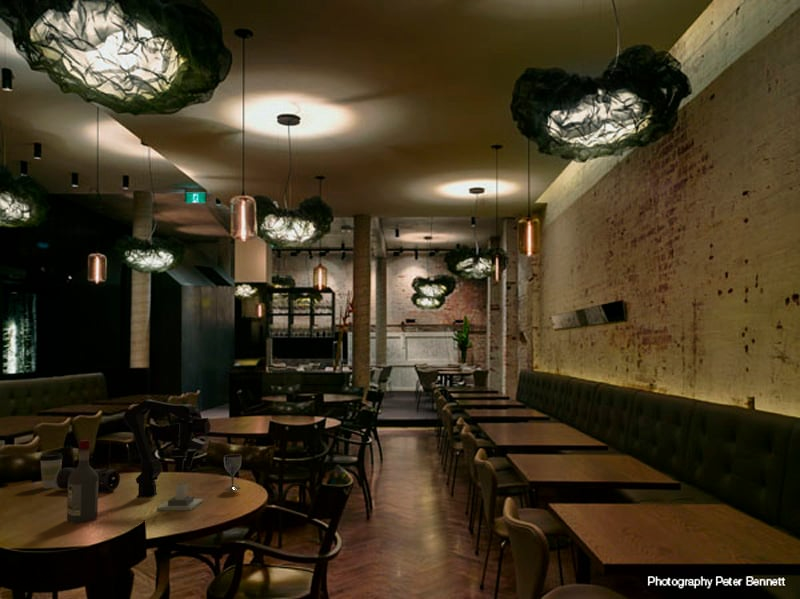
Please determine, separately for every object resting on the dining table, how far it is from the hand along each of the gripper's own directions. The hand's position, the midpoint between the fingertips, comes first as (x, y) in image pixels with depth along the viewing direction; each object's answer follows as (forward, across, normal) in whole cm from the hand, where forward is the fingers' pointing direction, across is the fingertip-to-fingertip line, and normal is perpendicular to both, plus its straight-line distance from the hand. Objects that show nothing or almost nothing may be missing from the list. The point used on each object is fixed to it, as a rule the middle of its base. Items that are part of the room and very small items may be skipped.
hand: (185, 469), depth 271 cm
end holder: (+12, -14, -4) cm, 19 cm away
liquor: (+12, -35, +26) cm, 45 cm away
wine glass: (+12, +16, -16) cm, 26 cm away
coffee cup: (+12, +18, +72) cm, 75 cm away
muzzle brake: (+12, +10, +50) cm, 52 cm away
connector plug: (+11, -14, -4) cm, 18 cm away
